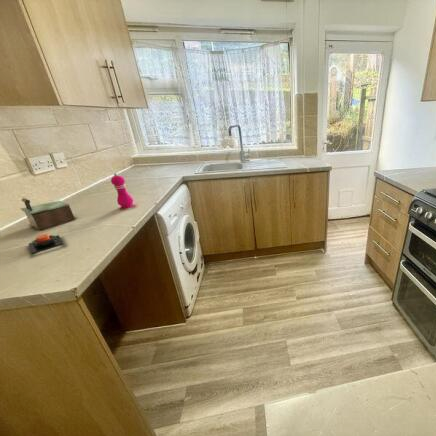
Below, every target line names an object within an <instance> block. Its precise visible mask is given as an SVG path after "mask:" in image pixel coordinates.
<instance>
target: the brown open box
mask: <svg viewBox="0 0 436 436" xmlns="http://www.w3.org/2000/svg"><path fill="white" fill-rule="evenodd" d="M24 214H25V216H26V218H27V220H28V221H29V224H30V226H32V227H33V228H35V229H36V230H38V231H39V232H40V231H43V230H47V229H51V228H54V227H57V226H60V225H63V224H66V223H70V222H72V221H75V220H76V218H75V216H74V214H73V211H72V209H71V206H70V205H69V206H65V207H61V208H56V209H52V210H47V211H43V212H38V213H34V214H27V213H25V212H24Z"/></svg>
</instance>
